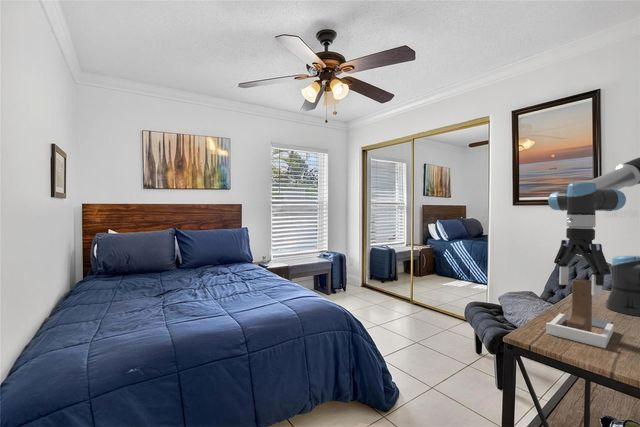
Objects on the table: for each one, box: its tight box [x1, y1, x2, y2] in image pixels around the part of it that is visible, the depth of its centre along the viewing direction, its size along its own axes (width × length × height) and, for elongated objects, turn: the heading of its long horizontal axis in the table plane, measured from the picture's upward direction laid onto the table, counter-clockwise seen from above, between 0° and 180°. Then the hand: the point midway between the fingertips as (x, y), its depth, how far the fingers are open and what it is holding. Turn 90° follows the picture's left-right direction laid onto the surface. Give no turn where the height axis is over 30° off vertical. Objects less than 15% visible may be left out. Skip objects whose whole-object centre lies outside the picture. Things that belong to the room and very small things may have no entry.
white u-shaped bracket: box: [545, 312, 615, 349], centre depth 106 cm, size 20×15×4 cm
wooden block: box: [566, 278, 593, 332], centre depth 105 cm, size 9×4×18 cm, turn 125°
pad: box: [564, 313, 613, 330], centre depth 116 cm, size 11×12×1 cm
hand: (579, 289), depth 105 cm, fingers open, 13 cm apart
